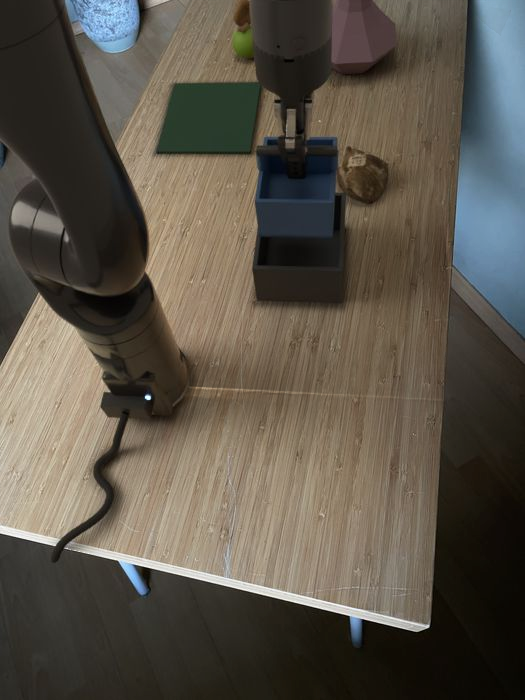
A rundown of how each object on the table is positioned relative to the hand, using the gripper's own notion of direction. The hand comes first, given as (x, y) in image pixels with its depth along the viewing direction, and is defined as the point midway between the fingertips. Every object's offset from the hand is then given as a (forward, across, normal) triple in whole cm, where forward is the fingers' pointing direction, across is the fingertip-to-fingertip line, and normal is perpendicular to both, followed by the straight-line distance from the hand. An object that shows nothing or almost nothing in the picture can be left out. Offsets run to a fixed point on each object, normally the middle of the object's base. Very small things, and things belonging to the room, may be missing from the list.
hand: (297, 171), depth 70 cm
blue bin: (+6, 0, 0) cm, 6 cm away
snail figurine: (+17, -50, -13) cm, 54 cm away
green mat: (+17, -32, -18) cm, 40 cm away
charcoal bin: (+17, 0, 0) cm, 17 cm away
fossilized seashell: (+18, -16, +8) cm, 25 cm away
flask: (+17, -48, +6) cm, 51 cm away
